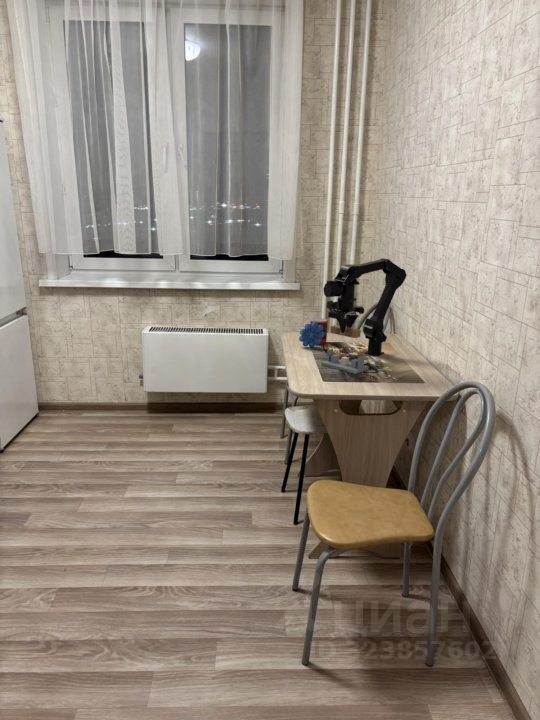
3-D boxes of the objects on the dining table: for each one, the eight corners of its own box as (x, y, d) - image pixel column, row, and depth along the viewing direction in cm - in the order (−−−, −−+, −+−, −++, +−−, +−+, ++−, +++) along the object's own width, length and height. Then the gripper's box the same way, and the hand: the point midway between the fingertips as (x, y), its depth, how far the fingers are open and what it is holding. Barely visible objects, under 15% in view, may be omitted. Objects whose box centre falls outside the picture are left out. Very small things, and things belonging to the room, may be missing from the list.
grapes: (324, 345, 250) (325, 320, 246) (323, 349, 243) (324, 323, 240) (299, 344, 251) (300, 319, 248) (298, 348, 245) (299, 322, 241)
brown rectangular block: (329, 333, 230) (330, 326, 230) (335, 331, 233) (335, 324, 232) (355, 338, 222) (355, 331, 221) (360, 336, 225) (360, 329, 224)
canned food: (307, 340, 258) (308, 318, 255) (322, 339, 260) (323, 317, 257) (313, 344, 251) (314, 321, 248) (328, 343, 253) (330, 320, 250)
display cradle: (334, 360, 227) (334, 346, 225) (368, 369, 216) (369, 354, 214) (321, 364, 220) (321, 351, 218) (356, 374, 209) (357, 359, 208)
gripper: (344, 290, 235) (342, 325, 239) (318, 295, 221) (316, 332, 226) (365, 293, 227) (363, 329, 232) (340, 299, 214) (338, 337, 219)
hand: (345, 332), depth 227 cm, fingers closed on brown rectangular block, 3 cm apart
